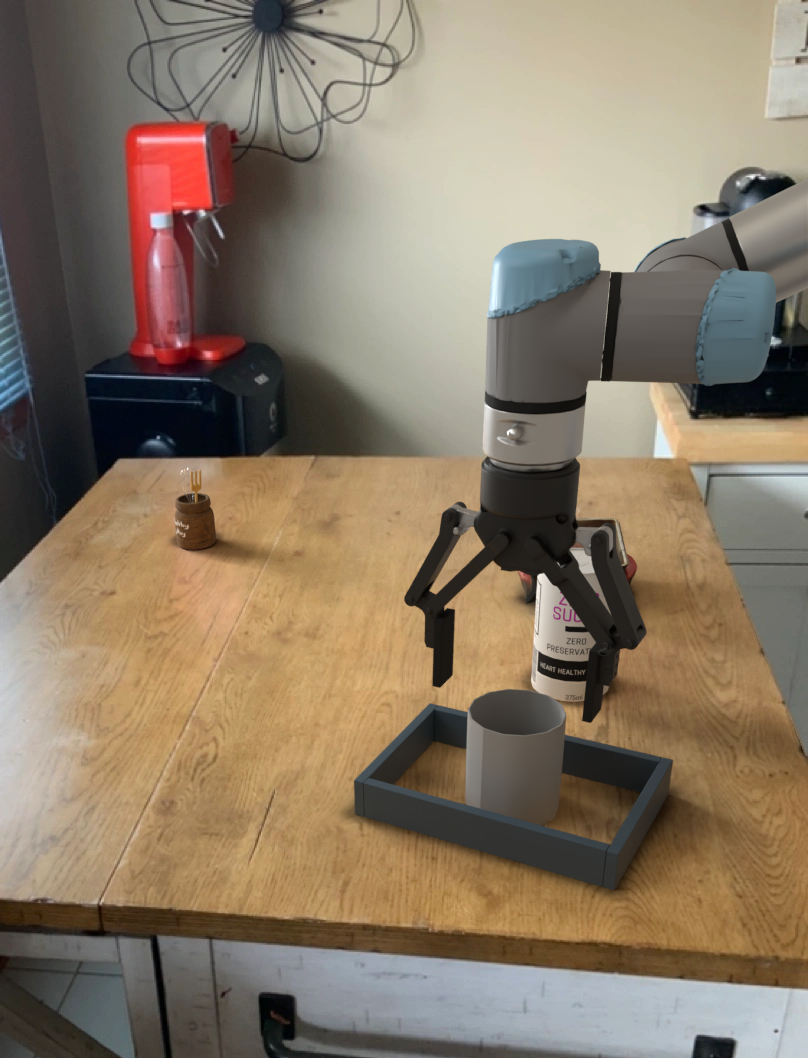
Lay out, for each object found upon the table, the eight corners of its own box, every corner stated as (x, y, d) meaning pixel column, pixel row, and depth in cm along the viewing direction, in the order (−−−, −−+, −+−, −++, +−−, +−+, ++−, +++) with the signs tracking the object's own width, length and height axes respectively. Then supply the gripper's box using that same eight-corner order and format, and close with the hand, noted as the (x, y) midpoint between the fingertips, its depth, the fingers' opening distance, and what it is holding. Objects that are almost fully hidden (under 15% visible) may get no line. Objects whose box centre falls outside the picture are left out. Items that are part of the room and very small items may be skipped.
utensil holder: (209, 533, 172) (202, 456, 166) (222, 546, 167) (215, 467, 161) (172, 540, 170) (163, 462, 164) (184, 554, 165) (175, 474, 159)
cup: (535, 775, 108) (542, 683, 103) (574, 823, 101) (582, 726, 96) (451, 790, 106) (454, 697, 101) (484, 839, 99) (488, 742, 94)
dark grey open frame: (667, 800, 104) (673, 759, 101) (613, 897, 92) (618, 854, 90) (429, 740, 115) (429, 702, 113) (354, 820, 104) (353, 780, 102)
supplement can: (582, 666, 127) (592, 540, 120) (623, 698, 120) (637, 567, 113) (517, 680, 125) (524, 553, 118) (555, 714, 118) (565, 581, 111)
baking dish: (508, 629, 141) (517, 560, 135) (521, 556, 154) (530, 490, 148) (627, 643, 138) (642, 574, 132) (630, 568, 151) (644, 501, 145)
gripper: (365, 452, 91) (366, 684, 101) (682, 493, 79) (646, 752, 89) (406, 428, 96) (404, 651, 107) (709, 462, 84) (672, 710, 95)
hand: (514, 697), depth 98 cm, fingers open, 13 cm apart
